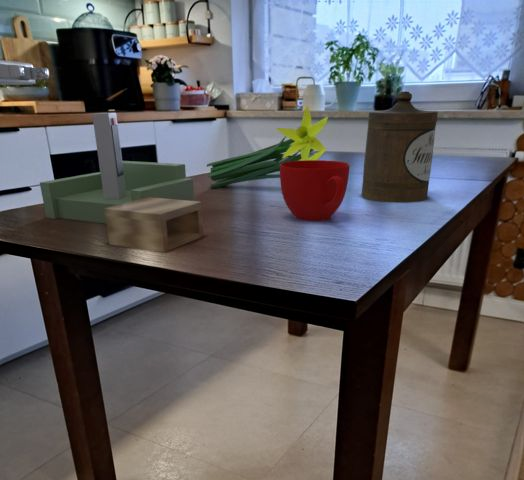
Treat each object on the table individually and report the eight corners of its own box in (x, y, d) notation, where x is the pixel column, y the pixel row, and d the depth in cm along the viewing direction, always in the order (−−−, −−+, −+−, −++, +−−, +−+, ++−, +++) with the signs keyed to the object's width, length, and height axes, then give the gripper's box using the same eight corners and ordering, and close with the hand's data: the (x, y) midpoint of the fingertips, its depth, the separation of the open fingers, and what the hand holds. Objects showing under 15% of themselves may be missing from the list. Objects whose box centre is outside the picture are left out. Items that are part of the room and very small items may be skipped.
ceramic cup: (306, 233, 90) (307, 173, 85) (269, 214, 104) (269, 162, 99) (370, 226, 94) (375, 168, 89) (326, 209, 108) (328, 158, 104)
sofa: (46, 219, 103) (36, 168, 98) (106, 204, 116) (99, 159, 112) (145, 231, 92) (139, 175, 88) (198, 213, 106) (195, 164, 102)
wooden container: (422, 205, 111) (436, 90, 101) (354, 201, 116) (361, 91, 107) (431, 194, 123) (444, 91, 113) (369, 190, 128) (377, 92, 119)
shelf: (109, 246, 84) (103, 208, 81) (152, 231, 92) (148, 196, 90) (164, 253, 79) (160, 214, 76) (203, 237, 88) (201, 201, 85)
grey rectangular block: (104, 199, 100) (91, 113, 93) (111, 195, 104) (100, 112, 97) (120, 199, 99) (109, 113, 93) (127, 195, 103) (117, 112, 97)
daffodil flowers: (233, 184, 145) (353, 152, 128) (220, 221, 137) (345, 192, 121) (202, 133, 133) (329, 91, 116) (186, 170, 125) (319, 131, 109)
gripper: (-5, 92, 102) (63, 92, 101) (-73, 91, 84) (9, 91, 83) (-13, 55, 99) (57, 55, 98) (-85, 46, 81) (0, 46, 80)
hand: (35, 72), depth 90 cm, fingers open, 8 cm apart
